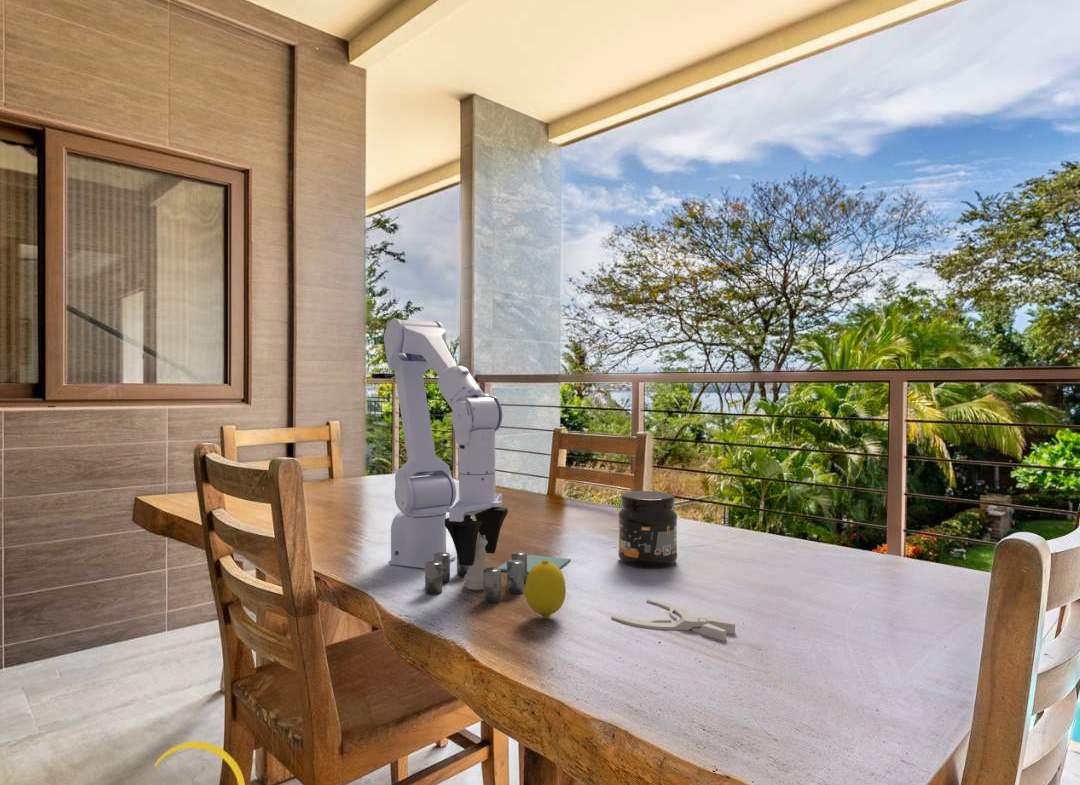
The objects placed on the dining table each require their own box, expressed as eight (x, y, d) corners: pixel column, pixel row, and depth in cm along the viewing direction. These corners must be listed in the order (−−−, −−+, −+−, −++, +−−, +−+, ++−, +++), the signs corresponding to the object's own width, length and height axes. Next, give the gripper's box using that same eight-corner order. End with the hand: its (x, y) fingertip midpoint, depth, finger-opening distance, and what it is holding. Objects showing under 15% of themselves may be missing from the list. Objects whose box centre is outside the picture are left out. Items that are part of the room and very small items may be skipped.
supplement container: (608, 556, 119) (608, 492, 119) (659, 551, 122) (659, 489, 122) (634, 572, 109) (634, 501, 109) (688, 566, 112) (688, 498, 112)
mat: (496, 570, 110) (496, 568, 110) (519, 556, 120) (519, 553, 120) (550, 576, 107) (550, 574, 107) (570, 561, 116) (570, 559, 116)
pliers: (649, 592, 95) (746, 616, 85) (649, 603, 95) (746, 628, 85) (610, 610, 87) (712, 638, 77) (610, 622, 87) (712, 651, 77)
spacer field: (413, 592, 99) (413, 563, 99) (454, 570, 110) (453, 544, 110) (505, 605, 93) (505, 574, 93) (538, 580, 105) (538, 552, 105)
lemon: (562, 627, 84) (561, 566, 84) (521, 624, 86) (521, 564, 86) (568, 612, 90) (568, 555, 90) (530, 609, 91) (529, 553, 91)
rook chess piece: (496, 584, 103) (496, 534, 103) (482, 592, 99) (482, 540, 99) (472, 580, 105) (472, 532, 105) (458, 588, 101) (457, 538, 100)
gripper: (478, 480, 93) (479, 573, 93) (518, 468, 107) (519, 549, 107) (436, 477, 96) (437, 568, 96) (480, 466, 109) (481, 546, 109)
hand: (477, 558), depth 102 cm, fingers open, 7 cm apart
